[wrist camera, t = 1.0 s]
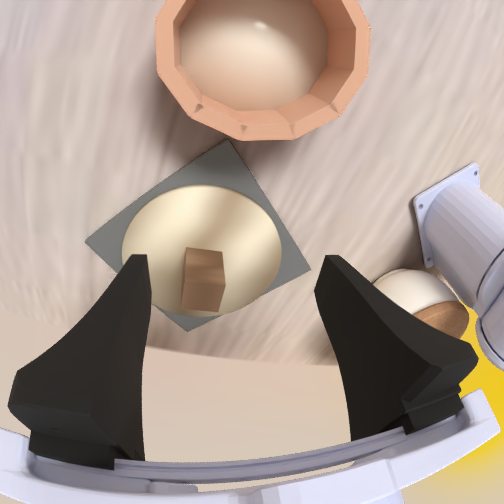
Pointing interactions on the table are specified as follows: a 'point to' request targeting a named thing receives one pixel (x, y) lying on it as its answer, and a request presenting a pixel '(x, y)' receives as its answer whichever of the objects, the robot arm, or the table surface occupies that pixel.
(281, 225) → the mat
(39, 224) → the table surface
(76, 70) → the table surface
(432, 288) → the lidded jar
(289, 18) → the bowl
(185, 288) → the lid
